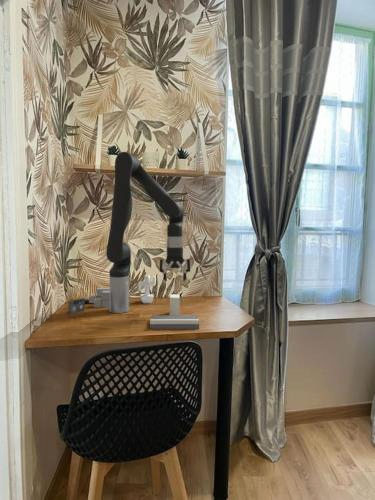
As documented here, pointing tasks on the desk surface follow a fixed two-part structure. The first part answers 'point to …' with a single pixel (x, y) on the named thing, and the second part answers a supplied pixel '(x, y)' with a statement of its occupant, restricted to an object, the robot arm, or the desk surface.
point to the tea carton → (174, 304)
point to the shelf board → (174, 322)
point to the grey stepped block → (100, 298)
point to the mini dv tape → (76, 306)
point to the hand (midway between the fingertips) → (174, 280)
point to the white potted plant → (147, 289)
